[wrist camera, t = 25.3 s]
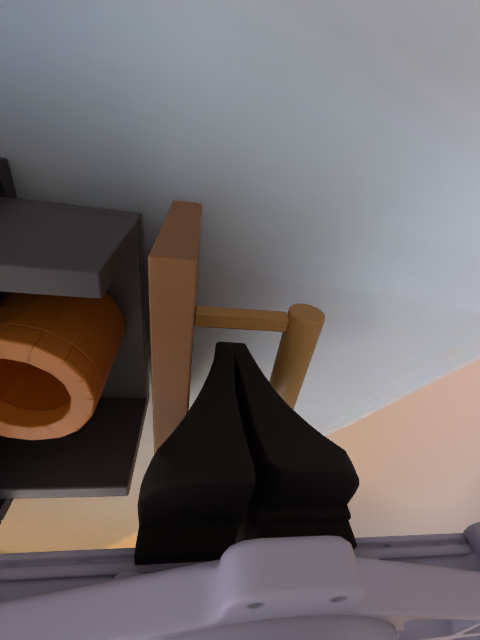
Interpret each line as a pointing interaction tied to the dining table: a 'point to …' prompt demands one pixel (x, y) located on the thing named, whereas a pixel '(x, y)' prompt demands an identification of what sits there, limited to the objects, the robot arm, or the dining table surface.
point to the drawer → (126, 335)
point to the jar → (54, 361)
